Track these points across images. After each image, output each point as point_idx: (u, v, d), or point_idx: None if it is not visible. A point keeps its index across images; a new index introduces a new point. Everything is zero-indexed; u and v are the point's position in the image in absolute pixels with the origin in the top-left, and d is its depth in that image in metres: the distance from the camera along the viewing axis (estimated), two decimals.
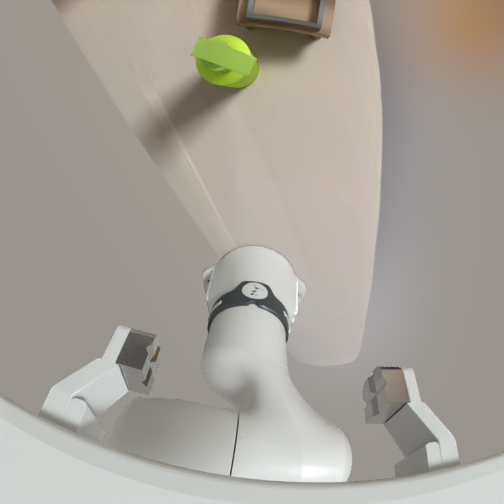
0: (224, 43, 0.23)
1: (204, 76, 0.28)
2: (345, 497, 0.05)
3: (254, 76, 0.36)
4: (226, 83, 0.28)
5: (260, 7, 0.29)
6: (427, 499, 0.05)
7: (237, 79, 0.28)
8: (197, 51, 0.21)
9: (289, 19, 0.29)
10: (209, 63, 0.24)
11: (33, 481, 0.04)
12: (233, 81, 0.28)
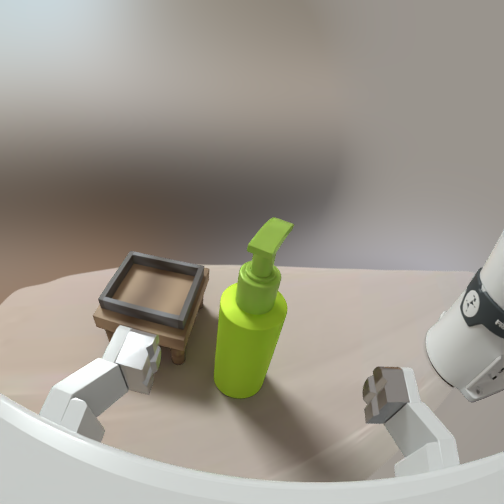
0: (245, 265, 0.25)
1: (276, 322, 0.25)
2: (345, 497, 0.05)
3: None
4: (285, 302, 0.27)
5: None
6: (427, 499, 0.05)
7: (279, 293, 0.28)
8: (268, 247, 0.22)
9: (192, 286, 0.35)
10: (272, 276, 0.24)
11: (33, 481, 0.04)
12: (282, 296, 0.28)
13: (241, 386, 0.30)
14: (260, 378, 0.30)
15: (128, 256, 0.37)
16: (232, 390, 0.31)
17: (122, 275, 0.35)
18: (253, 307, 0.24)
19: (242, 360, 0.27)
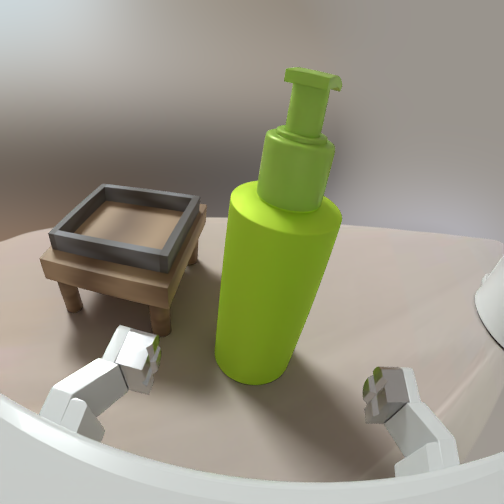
0: (274, 130, 0.14)
1: (331, 226, 0.14)
2: (345, 497, 0.05)
3: None
4: (335, 206, 0.16)
5: None
6: (427, 499, 0.05)
7: (323, 195, 0.17)
8: (319, 74, 0.11)
9: (183, 216, 0.24)
10: (323, 138, 0.13)
11: (33, 481, 0.04)
12: (328, 199, 0.17)
13: (260, 362, 0.19)
14: (290, 348, 0.20)
15: (98, 188, 0.26)
16: (245, 371, 0.20)
17: (87, 210, 0.24)
18: (292, 194, 0.14)
19: (267, 307, 0.16)
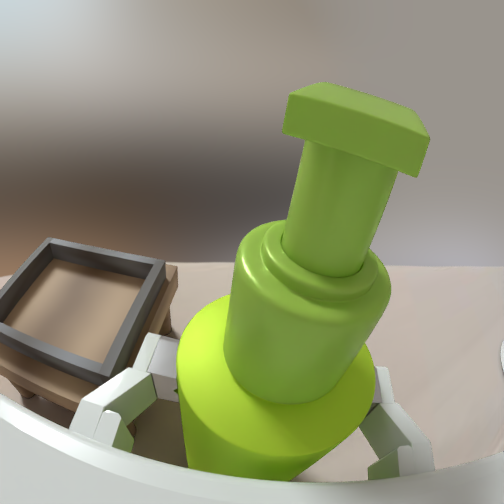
0: (259, 233, 0.07)
1: (357, 416, 0.07)
2: (345, 497, 0.05)
3: None
4: (365, 348, 0.09)
5: (91, 359, 0.14)
6: (427, 499, 0.05)
7: None
8: (392, 115, 0.04)
9: (137, 300, 0.17)
10: (370, 270, 0.06)
11: (33, 481, 0.04)
12: None
13: None
14: None
15: (41, 245, 0.19)
16: None
17: (27, 278, 0.17)
18: (291, 388, 0.06)
19: None
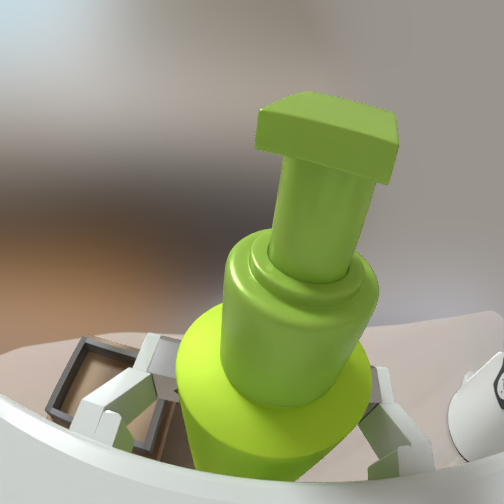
0: (249, 242, 0.07)
1: (352, 419, 0.07)
2: (345, 497, 0.05)
3: None
4: (362, 351, 0.09)
5: (133, 434, 0.21)
6: (427, 499, 0.05)
7: None
8: (362, 123, 0.04)
9: None
10: (355, 276, 0.06)
11: (33, 481, 0.04)
12: None
13: None
14: None
15: (79, 344, 0.26)
16: None
17: (73, 372, 0.24)
18: (283, 391, 0.06)
19: None
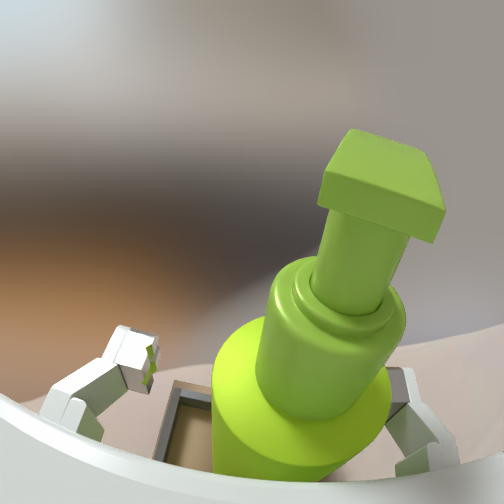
0: (289, 273, 0.07)
1: (375, 427, 0.07)
2: (345, 497, 0.05)
3: None
4: None
5: None
6: (427, 499, 0.05)
7: None
8: (413, 185, 0.04)
9: None
10: (388, 306, 0.06)
11: (33, 481, 0.04)
12: None
13: None
14: None
15: (172, 400, 0.19)
16: None
17: (170, 441, 0.17)
18: (319, 407, 0.07)
19: None
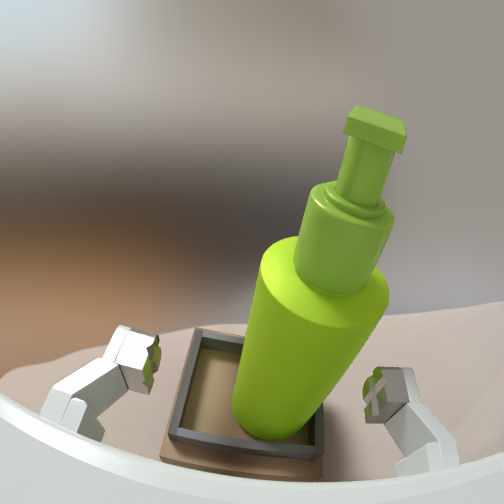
0: (320, 187, 0.11)
1: (379, 309, 0.11)
2: (345, 497, 0.05)
3: None
4: (380, 274, 0.13)
5: (289, 440, 0.18)
6: (427, 499, 0.05)
7: None
8: (390, 126, 0.08)
9: None
10: (382, 206, 0.10)
11: (33, 481, 0.04)
12: None
13: (283, 425, 0.17)
14: (315, 410, 0.17)
15: (195, 340, 0.23)
16: (265, 430, 0.17)
17: (192, 376, 0.21)
18: (340, 278, 0.11)
19: (296, 388, 0.13)
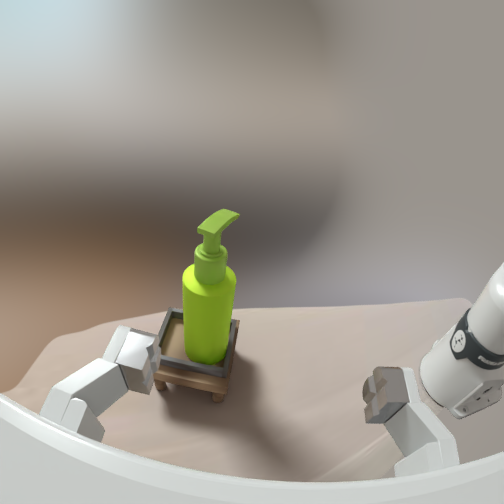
0: (200, 245, 0.32)
1: (225, 291, 0.32)
2: (345, 497, 0.05)
3: None
4: (234, 277, 0.34)
5: None
6: (427, 499, 0.05)
7: (231, 270, 0.35)
8: (212, 229, 0.29)
9: (229, 340, 0.41)
10: (219, 253, 0.31)
11: (33, 481, 0.04)
12: (233, 273, 0.34)
13: (204, 352, 0.37)
14: (220, 345, 0.37)
15: (168, 312, 0.43)
16: (197, 356, 0.37)
17: (165, 331, 0.41)
18: (205, 278, 0.31)
19: (200, 325, 0.34)
